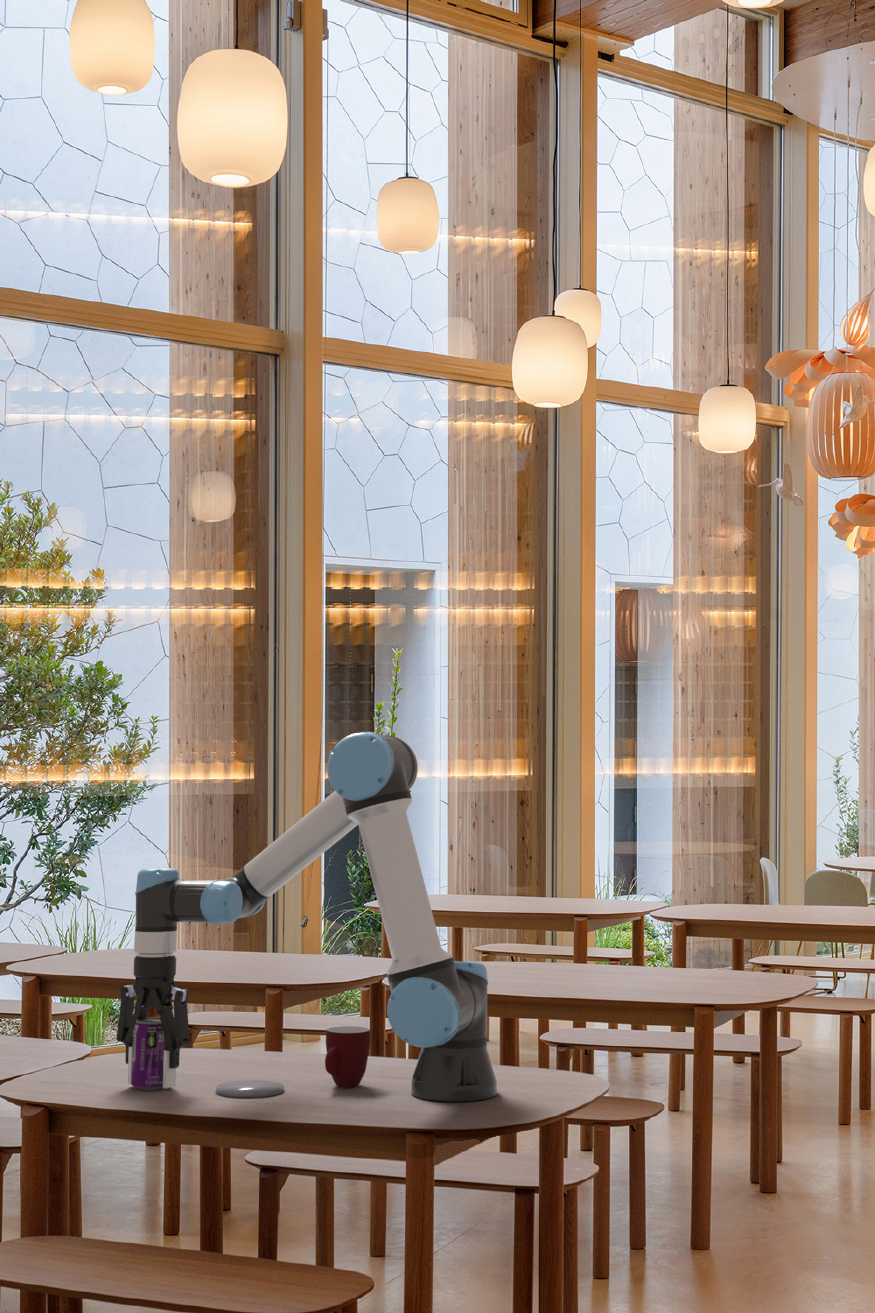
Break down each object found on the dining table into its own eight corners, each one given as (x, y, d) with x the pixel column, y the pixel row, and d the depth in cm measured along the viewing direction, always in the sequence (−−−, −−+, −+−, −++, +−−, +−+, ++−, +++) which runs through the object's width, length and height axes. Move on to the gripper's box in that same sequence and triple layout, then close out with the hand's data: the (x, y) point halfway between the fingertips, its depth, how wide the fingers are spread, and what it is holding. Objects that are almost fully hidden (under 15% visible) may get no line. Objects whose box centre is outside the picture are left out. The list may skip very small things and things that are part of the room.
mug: (351, 1094, 246) (352, 1036, 247) (310, 1090, 249) (311, 1033, 250) (377, 1084, 255) (377, 1028, 256) (337, 1080, 258) (338, 1025, 259)
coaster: (296, 1088, 250) (296, 1084, 251) (259, 1100, 240) (259, 1095, 240) (240, 1082, 256) (240, 1078, 256) (202, 1094, 245) (202, 1089, 245)
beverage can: (158, 1093, 245) (160, 1023, 247) (123, 1090, 248) (125, 1021, 249) (178, 1086, 252) (180, 1018, 253) (144, 1083, 254) (146, 1016, 256)
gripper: (213, 955, 251) (209, 1086, 249) (124, 950, 260) (120, 1076, 258) (188, 959, 245) (184, 1094, 242) (97, 953, 253) (93, 1083, 251)
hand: (151, 1084), depth 250 cm, fingers closed on beverage can, 7 cm apart
